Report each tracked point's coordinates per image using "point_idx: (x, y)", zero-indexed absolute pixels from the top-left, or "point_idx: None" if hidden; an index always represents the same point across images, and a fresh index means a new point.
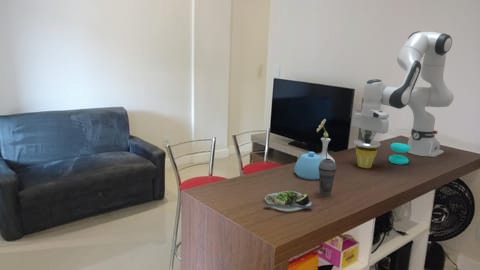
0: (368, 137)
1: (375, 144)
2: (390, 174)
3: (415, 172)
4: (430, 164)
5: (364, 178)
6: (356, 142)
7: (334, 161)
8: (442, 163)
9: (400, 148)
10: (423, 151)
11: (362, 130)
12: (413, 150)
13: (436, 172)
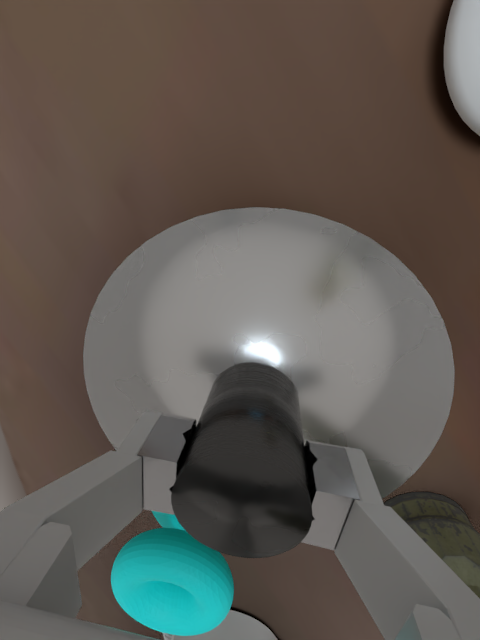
0: (203, 432)
1: (125, 385)
2: (94, 291)
3: (68, 414)
4: (114, 541)
5: (109, 55)
6: (360, 258)
7: (460, 80)
8: (102, 574)
9: (134, 554)
10: (190, 638)
11: (438, 625)
12: (228, 634)
13: (36, 472)
